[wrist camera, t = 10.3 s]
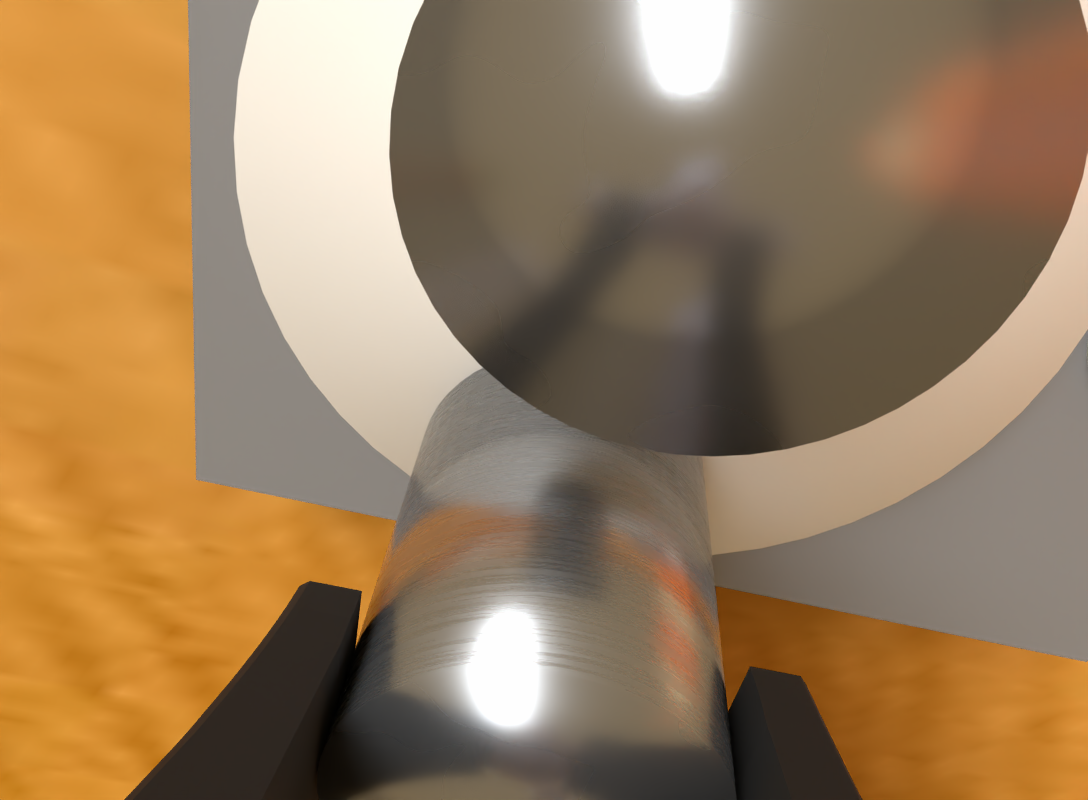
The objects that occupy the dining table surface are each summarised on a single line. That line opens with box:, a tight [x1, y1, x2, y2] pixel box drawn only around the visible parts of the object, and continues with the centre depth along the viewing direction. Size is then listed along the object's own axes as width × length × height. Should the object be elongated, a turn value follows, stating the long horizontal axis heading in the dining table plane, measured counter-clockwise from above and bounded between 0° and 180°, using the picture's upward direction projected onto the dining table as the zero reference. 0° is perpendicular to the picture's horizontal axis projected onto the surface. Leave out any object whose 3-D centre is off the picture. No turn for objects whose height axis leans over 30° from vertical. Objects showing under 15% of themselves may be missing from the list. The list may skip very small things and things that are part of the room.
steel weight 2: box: [389, 0, 1088, 457], centre depth 9 cm, size 4×4×6 cm
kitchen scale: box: [188, 0, 1088, 662], centre depth 15 cm, size 17×14×4 cm
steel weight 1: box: [317, 368, 737, 800], centre depth 13 cm, size 4×4×6 cm
